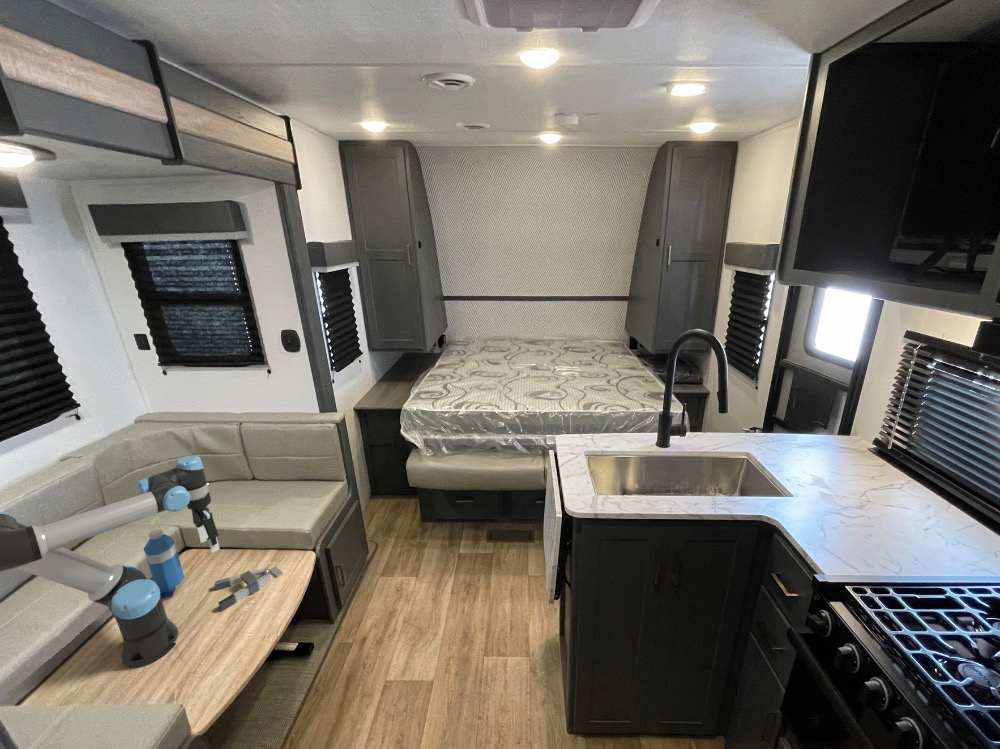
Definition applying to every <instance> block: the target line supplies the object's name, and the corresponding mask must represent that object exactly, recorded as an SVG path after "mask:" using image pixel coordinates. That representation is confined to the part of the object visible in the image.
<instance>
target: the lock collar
mask: <svg viewBox="0 0 1000 749" xmlns="http://www.w3.org/2000/svg"><path fill="white" fill-rule="evenodd" d="M251 572H252V571H250V570H247V571H244V572H242V573H241V574H239V575H240V576H241V579H242V580H243V581H244V582H245V584H246V586H247V585H248V586H249V588H250V592H251V594H250V595H251V596H253V595H254V594H255V593H257V592H259V591H260V589H261V588H259V585H258V582H257V578H256V577H255V576H254V575H253V574H252V573H251Z"/></svg>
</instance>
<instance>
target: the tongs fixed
mask: <svg viewBox="0 0 1000 749" xmlns="http://www.w3.org/2000/svg"><path fill="white" fill-rule="evenodd" d="M270 573H271V574H272V575H273V576H274V577H275V578H276V579H277V578H279V577H281V576H283V575H284V573H283V571H282V570H281V569H280V568H278V567H277V566H273V567H271V568H270V569H269V574H270ZM269 574H268V573H267V574H266V575H264V576H262V577H261V578H259V579H257V582H258V585H259V589H261V588H263V587H264V586H266V585H268V584H269V583H271V582H272V578H271V574H270V575H269ZM249 595H251V592H250V588H249V586H248V585H247V584H246V586H244V587H242V588H240V589H239V590H237V591H236V592H234V593H232V594H230V595H229V596H227V597H225V598H224V599H222V600H220V601H219V602H218V603H217V604H218V607H219V610H220V611H221V612H224V611H225V610H228V609H229V608H230V607H232V606H234V605H235V604H237V603H238V602H239V601H241V600H243V599H245V598H246V597H249Z"/></svg>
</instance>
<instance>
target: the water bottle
mask: <svg viewBox="0 0 1000 749" xmlns="http://www.w3.org/2000/svg"><path fill="white" fill-rule="evenodd" d="M163 532H164V531H163V529H162V528H156V529H154V530H151V531H150V532H149V533H148V536H149V537H148V538H149V539H148V541H147V543H146V544H145V546H144V547H143V551H144V554H145V558H146V561H147V564H148V568H149V571H150V575H151V577H152V581H154V582H155V583H156V584H157V586H158V587H159V590H160V593H162V592H169V591H171V590H173V589H175V590H176V588H177V586H179V585H180V584H181V583H182V581H183V580H184V578H185V575H184V572H183V568H182V564H181V560H180V556H179V554H178V549H177V546H176V543H175V539H174V538H172V537H171V536H170V535H168V534H165V533H163Z"/></svg>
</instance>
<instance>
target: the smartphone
mask: <svg viewBox="0 0 1000 749" xmlns="http://www.w3.org/2000/svg"><path fill="white" fill-rule="evenodd" d="M175 590H176V588H175V589H173V590H171V591H169V592H162V593H160V596H161V599H162V602H164V601H167V600H169V599H172V598H173V596H174V593H175Z"/></svg>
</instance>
